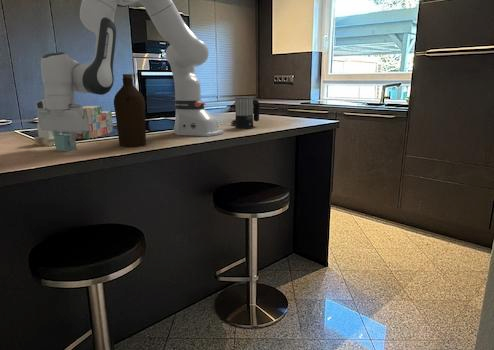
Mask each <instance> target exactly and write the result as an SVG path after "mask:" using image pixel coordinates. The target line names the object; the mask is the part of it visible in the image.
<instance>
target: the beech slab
mask: <svg viewBox="0 0 494 350" xmlns="http://www.w3.org/2000/svg"><path fill="white" fill-rule="evenodd" d="M33 141H34V145H37V146H46V147H52V146H51V145H53V146H55V145H54V144H55V138H39V136H37V137H33Z"/></svg>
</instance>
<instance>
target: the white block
mask: <svg viewBox="0 0 494 350" xmlns="http://www.w3.org/2000/svg"><path fill="white" fill-rule="evenodd" d="M36 127H37V133H38V137H39V138H54V136H53V134H52V131H46V130H41V128H40V127H39V123H37V124H36ZM61 134H63V132H60V135H61Z"/></svg>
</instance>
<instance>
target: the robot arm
mask: <svg viewBox="0 0 494 350" xmlns="http://www.w3.org/2000/svg"><path fill="white" fill-rule="evenodd" d="M135 3H139V4H141V5H142V7H143V8H144V9H145V11H146V13H147V14H148V16H149V19H150V20H151V22H152V23H153V25H154V27H155V28H156V31H158V33H159V35H160V36H161V37H162V38H163V39H165V40H166V41H167V42H168V43H169V46H167V48H166V50H165V58H166V61H167V63H169V66H170V70H171V74H172V77H173V82H174V97H175V98H174V99H175V100H174V110H175V118H174V119H175V121H174V128H173V131H172V132H173V133H174V134H175V135H176V136H195V137H197V136H199V137H210V136H213V137H214V136H218V135H220V134H223V133H224V130H223V129H219V123H218V119H217V118H216V117H215V116H213V115H212V114H211V113H210V111H208V110H207V109H205V106H206V105H207V102H206V101H202V98H201V94H202V93H201V92H202V91H201V81H200V79H199V78H198V76H197V72H196V69H195V68H196V67H199V66H202V65H203V64H204V63H206V62H207V60H208V59H209V48H208V46H207V45H206V43H205V42H204V41H202V39H200V38H198V36H196V34H195V33H194V32H193V31H192V30H191V29H190V28H189V26H188V25H187V24H186V22H185V21H184V19H183V17H182V16H181V14H180V12H179V11H178V8H177V7H176V5H175V3H174V1H173V0H81V4H80V8H79V19H80V22H81V23H82V24H83V26H84V27H85V28H86V29H88V31H90V32H91V33H94V35H95V45H94V46H95V48H94V53H93V59H92V61H90V63H81V62H80V61H79V62H78V61H76V59H73V58H72V57H70V56H69V55H68V54H67V53H66V52H61V51H60V52H59V51H58V52H50V53H46V54H44V55H43V56H42V57H41V60H40V72H41V74H40V75H41V79H42V80H41V81H42V83H43V86H44V93H43V94H44V95H43V96H44V98H43V99H40V100H39V101H36V102H35V104H34V105H35V108H36V109H37V112H36V113H37V121H38V122H37V124H39V127H40V128H41V130H46V131H52V134H53V136H55V135H60V132H62V133H67V134H69V136H70V140H68V145H69V146H75V145H76V146H77V142H76V143H75V140H77V139H76V137H77V133H79V134H81V133H87V132H88V130H89V126H88V121H87V117H86V114H85V112H84V108H83V107H84V106H82V105H80V104H76V98H75V97H76V96H75V92H76V93H82V94H93V95H100V96H101V95H102V96H103V95H106V94H108V93H109V92H110V91H111V90H112V88H113V85H114V82H115V81H114V79H115V77H114V61H115V60H114V59H115V51H116V44H117V43H116V40H117V28H116V24H115V15H116V12H117V11H116V10H117V7H118V8H125V7H128V6H130V5H133V4H135ZM54 138H55V137H54Z"/></svg>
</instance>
